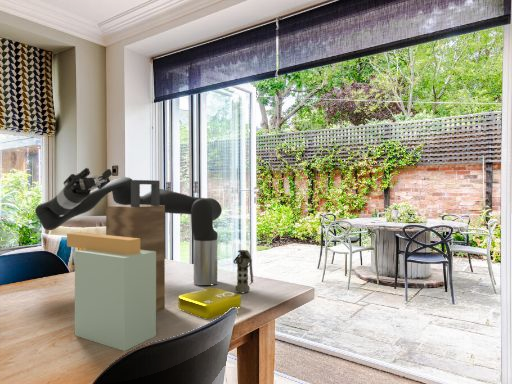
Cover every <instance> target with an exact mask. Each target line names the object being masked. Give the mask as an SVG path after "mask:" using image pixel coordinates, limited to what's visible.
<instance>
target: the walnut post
mask: <svg viewBox="0 0 512 384" xmlns="http://www.w3.org/2000/svg"><path fill="white" fill-rule="evenodd" d="M165 223H166V213H165V205H160V206H151V205H141V204H140V207H131V205H121V204H118V205H106V206H105V235H111V236H121V237H130V238H140V250H148V251H156V312H158V310H159V311H162V310H163V308H164V309H165V307H166V306H165V304H166V302H165V298H166V297H165V296H166V295H165V291H166V289H165V288H166V286H165V285H166V283H165V277H166V276H165V273H166V270H165V267H166V265H165V263H166V260H165V259H166V257H165V256H166V252H165V251H166V248H165V247H166V246H165V245H166V244H165V243H166V241H165V240H166V238H165V237H166V235H165V234H166V224H165Z"/></svg>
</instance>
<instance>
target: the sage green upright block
mask: <svg viewBox="0 0 512 384" xmlns="http://www.w3.org/2000/svg"><path fill="white" fill-rule="evenodd" d="M74 336H76V337H79V338H82V339H84V340H85V339H86V340H88V341H92V342H95V343H98V344H100V345H104V346H107V347H110V348H114V349H116V350H120V351H122V352H126V351H127V350H130V349H133V348H134V347H136V346H138V345H140V344H142V343H145V342H147V341H148V340H151V339H152V338H155V337H157V311H156V251H148V250H140V253H136V254H131V255H127V254H119V253H112V252H105V251H98V250H90V249H78V250H74Z"/></svg>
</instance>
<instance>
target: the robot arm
mask: <svg viewBox="0 0 512 384" xmlns="http://www.w3.org/2000/svg"><path fill="white" fill-rule="evenodd" d="M90 174H91V171H90V169H89V167H85V168H84V169H82V170H81V171H80V172H79V173H76V174H75V173H72V174H70V175H69V176H68V177H67V178H66V179H65V180H64V181H63V185H64V187H63V188H62V189H61V190H60V191H59V193H57V194H56V195H55V196H54V197H53V198H51V199H50V200H48V201H45V202H42V203H40V204H38V205H37V206H36V208H35V214H36V217H37V219H38V220H39V222H40V224H41V225H42V228H43V229H45V230H46V231H54V230H56V229H58V228H60V227H61V226H62V225H63V224H64V223H66V222H67V221H69V220H71V219H72V218H75V217H76V216H79V215H83V214H85V213H88V212H90V211H91V210H93V209H94V208H95V207H96V206H97V205H98V203H100V202H101V200H102V199H103V198H104V197H106V195H108V194H110V193H112V198H113V202H115V203H116V204H118V205H131V180H133V179H132V178H131V177H129V176H128V177H127V176H125V177H124V176H123V177H118V178H115V179H112V180H111V179H110V177H111V176H112V175H113V172H112V170H111V169H109V168H107V169H106V170H104V172H103V173H102V174H100V175H94V176H91V177H88V176H89V175H90ZM95 180H96V181H95ZM140 204H141V205H151V190H150V191H149V192H147V193H145V194H143V195H140ZM160 205H165V214H175V215H176V214H177V215H181V214H183V215H190V225H191V232H192V236H193V284H194V285H195V284H197V285H196V286H198V285H211V284H217V285H218V236H219V235H218V232H217V231H216V230H215V229H214V221H216V220H217V219H218V218H219V217H220V216H221V214H222V205H221V204H220V202H219V201H217V200H216V199H214V198H212V197H210V198H209V197H207V198H206V197H197V196H191V195H187V194H184V193H180V192H176V191H172V190H168V189H162V188H160ZM211 286H212V285H211Z"/></svg>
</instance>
